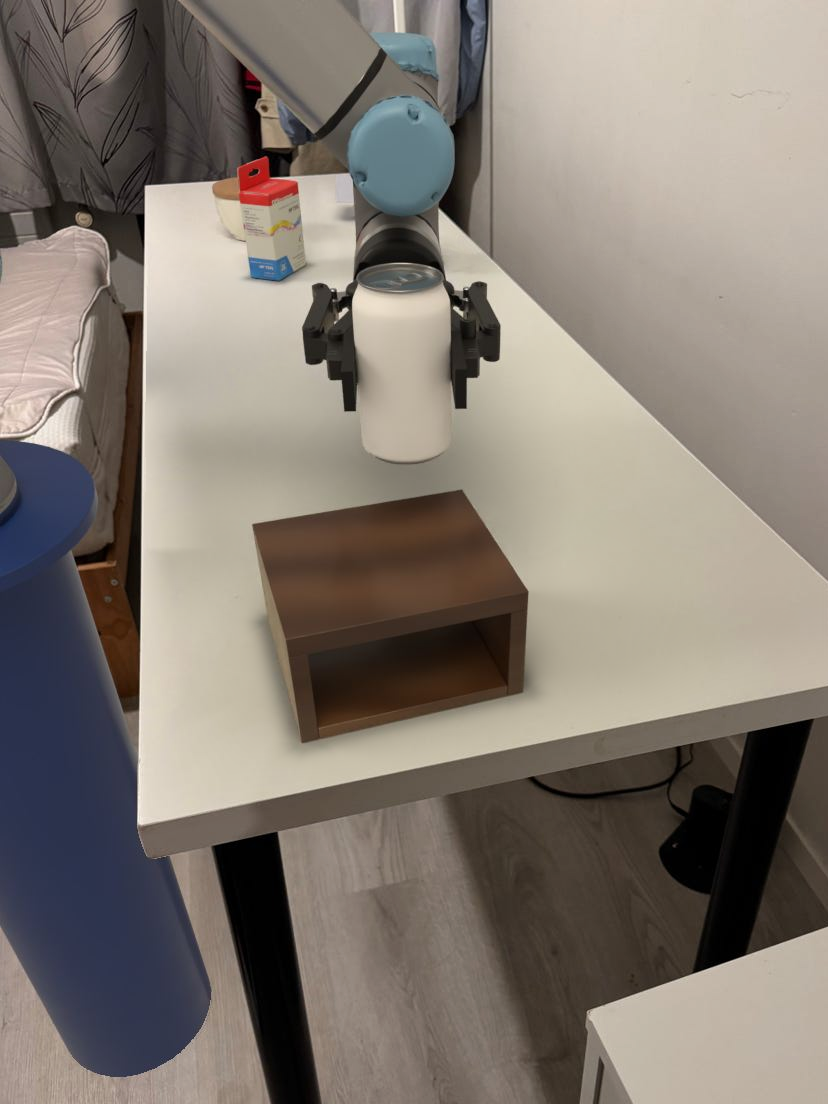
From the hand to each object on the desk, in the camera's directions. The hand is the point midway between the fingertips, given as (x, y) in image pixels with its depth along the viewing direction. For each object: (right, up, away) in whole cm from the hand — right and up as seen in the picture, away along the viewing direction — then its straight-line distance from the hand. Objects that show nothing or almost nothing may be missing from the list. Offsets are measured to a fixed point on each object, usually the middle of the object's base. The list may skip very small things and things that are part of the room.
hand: (405, 390), depth 59 cm
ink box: (-25, +39, +79) cm, 91 cm away
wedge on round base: (-13, +57, +102) cm, 117 cm away
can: (-1, -2, +8) cm, 8 cm away
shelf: (-2, -17, +10) cm, 20 cm away
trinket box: (-32, +50, +92) cm, 110 cm away
